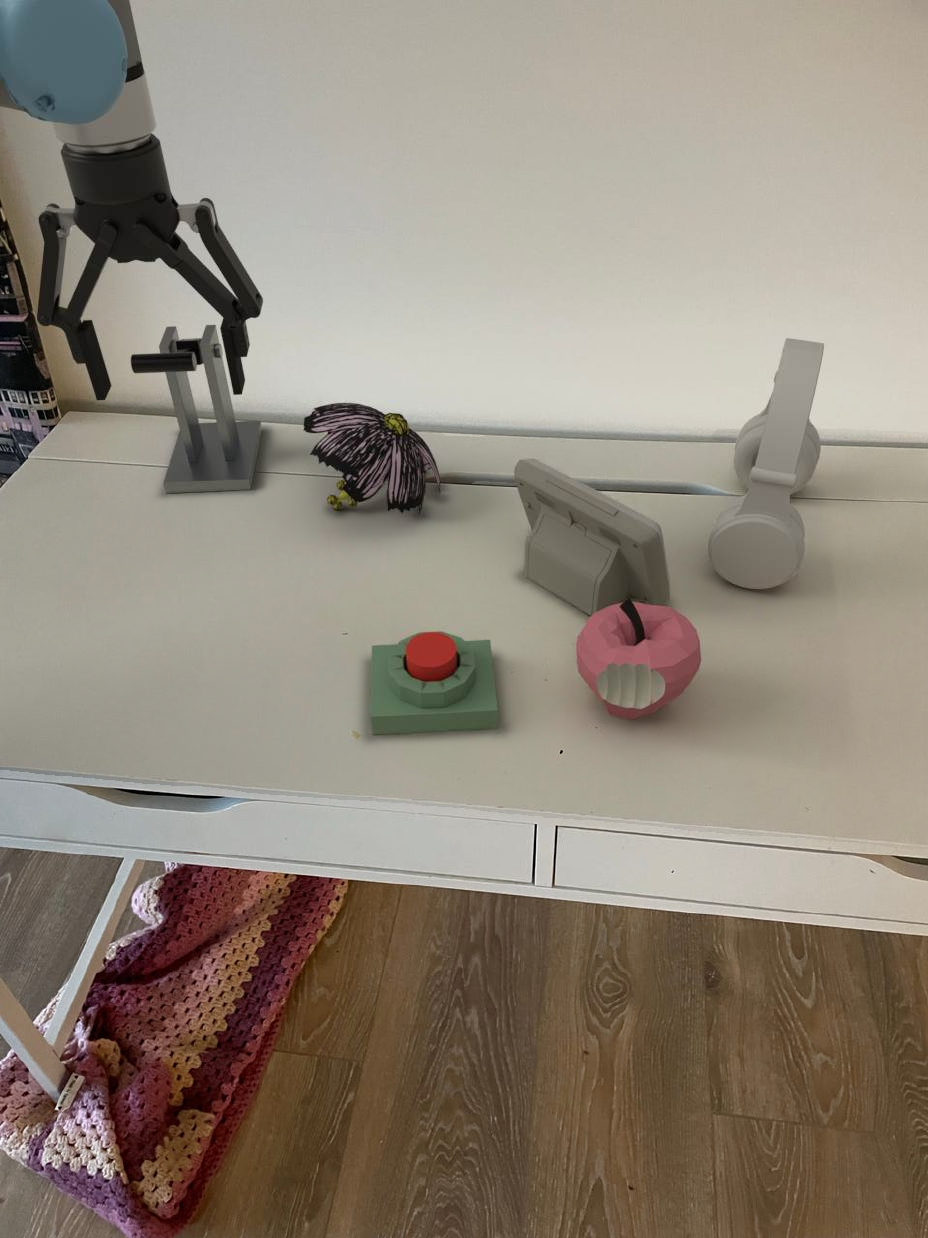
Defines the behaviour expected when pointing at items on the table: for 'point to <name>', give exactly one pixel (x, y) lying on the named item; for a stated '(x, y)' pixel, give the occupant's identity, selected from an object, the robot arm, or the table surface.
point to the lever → (170, 359)
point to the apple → (637, 657)
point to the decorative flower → (372, 454)
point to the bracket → (208, 428)
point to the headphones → (771, 479)
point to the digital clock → (588, 542)
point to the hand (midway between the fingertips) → (172, 390)
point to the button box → (433, 691)
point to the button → (431, 656)
